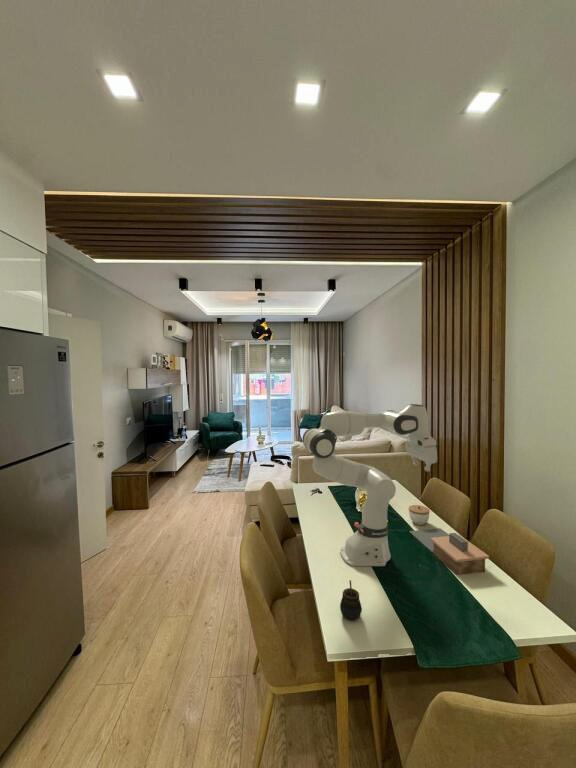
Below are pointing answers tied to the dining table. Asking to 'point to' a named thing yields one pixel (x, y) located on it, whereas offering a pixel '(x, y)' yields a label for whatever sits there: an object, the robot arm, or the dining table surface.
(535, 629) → the dining table surface
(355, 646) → the dining table surface
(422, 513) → the lidded jar
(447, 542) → the lid
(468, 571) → the walnut box
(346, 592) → the mate gourd
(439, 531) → the rubber mat
